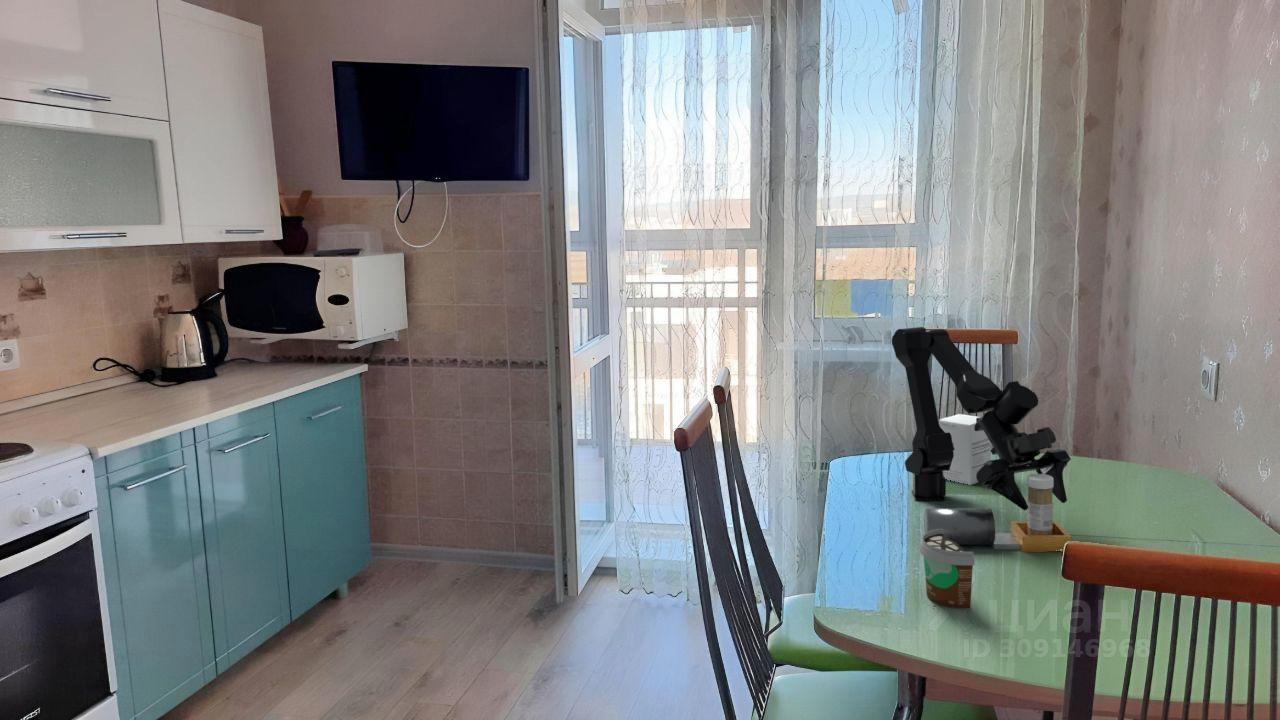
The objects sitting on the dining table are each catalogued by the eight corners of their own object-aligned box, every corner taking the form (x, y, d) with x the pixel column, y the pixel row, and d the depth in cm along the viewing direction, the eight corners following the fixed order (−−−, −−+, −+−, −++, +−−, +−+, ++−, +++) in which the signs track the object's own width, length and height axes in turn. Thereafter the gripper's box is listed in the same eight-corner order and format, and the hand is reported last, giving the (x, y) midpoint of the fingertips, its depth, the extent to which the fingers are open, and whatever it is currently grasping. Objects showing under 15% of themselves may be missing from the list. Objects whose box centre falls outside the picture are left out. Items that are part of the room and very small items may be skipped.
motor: (930, 551, 167) (930, 516, 166) (923, 535, 175) (923, 502, 174) (1070, 552, 163) (1071, 516, 162) (1056, 536, 171) (1057, 501, 170)
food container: (907, 585, 152) (907, 530, 150) (941, 582, 152) (941, 527, 151) (937, 615, 140) (937, 556, 138) (974, 612, 140) (974, 552, 139)
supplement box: (937, 478, 213) (937, 419, 211) (958, 471, 219) (958, 413, 216) (970, 486, 206) (970, 424, 204) (991, 478, 211) (992, 418, 209)
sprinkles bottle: (1044, 538, 170) (1045, 472, 168) (1057, 546, 166) (1058, 478, 164) (1021, 540, 170) (1022, 473, 168) (1034, 548, 165) (1035, 480, 163)
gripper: (986, 420, 165) (1029, 491, 156) (1064, 409, 171) (1109, 477, 162) (958, 451, 173) (997, 520, 165) (1033, 439, 179) (1075, 506, 170)
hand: (1045, 505), depth 165 cm, fingers open, 9 cm apart
